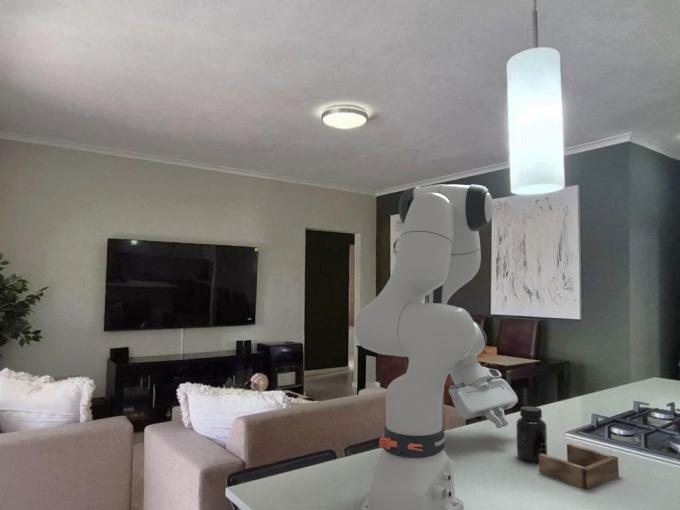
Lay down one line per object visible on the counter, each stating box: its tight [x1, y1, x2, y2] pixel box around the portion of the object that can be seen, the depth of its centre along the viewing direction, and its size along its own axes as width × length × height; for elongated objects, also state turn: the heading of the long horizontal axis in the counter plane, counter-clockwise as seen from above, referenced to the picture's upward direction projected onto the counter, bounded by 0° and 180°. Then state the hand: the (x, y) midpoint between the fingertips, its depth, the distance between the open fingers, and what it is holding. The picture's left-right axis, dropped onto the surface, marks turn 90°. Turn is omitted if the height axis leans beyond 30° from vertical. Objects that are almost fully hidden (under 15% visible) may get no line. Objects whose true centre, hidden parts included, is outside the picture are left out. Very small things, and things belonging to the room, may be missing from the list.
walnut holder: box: [538, 443, 620, 491], centre depth 109 cm, size 11×12×4 cm
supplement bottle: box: [516, 405, 548, 464], centre depth 119 cm, size 7×7×12 cm
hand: (503, 426), depth 126 cm, fingers closed
